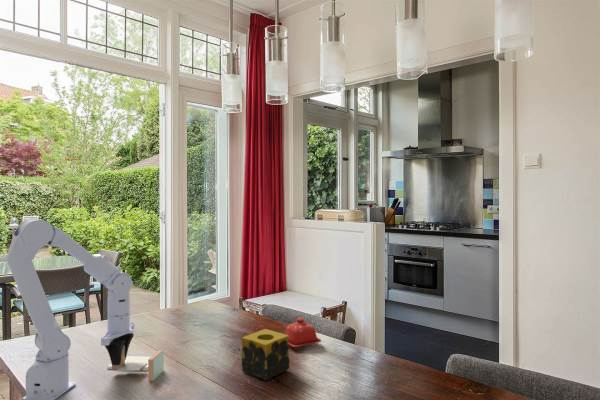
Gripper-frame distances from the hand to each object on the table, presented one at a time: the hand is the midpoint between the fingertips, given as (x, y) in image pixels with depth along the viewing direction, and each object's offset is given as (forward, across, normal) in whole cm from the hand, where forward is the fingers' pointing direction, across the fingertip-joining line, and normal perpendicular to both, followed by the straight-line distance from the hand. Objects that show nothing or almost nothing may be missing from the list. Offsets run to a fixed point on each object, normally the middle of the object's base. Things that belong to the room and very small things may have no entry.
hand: (118, 362), depth 116 cm
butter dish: (+4, +30, -49) cm, 58 cm away
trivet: (+3, +7, -1) cm, 8 cm away
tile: (+3, 0, -11) cm, 11 cm away
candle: (+4, +6, -41) cm, 41 cm away
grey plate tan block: (+2, 0, 0) cm, 2 cm away
